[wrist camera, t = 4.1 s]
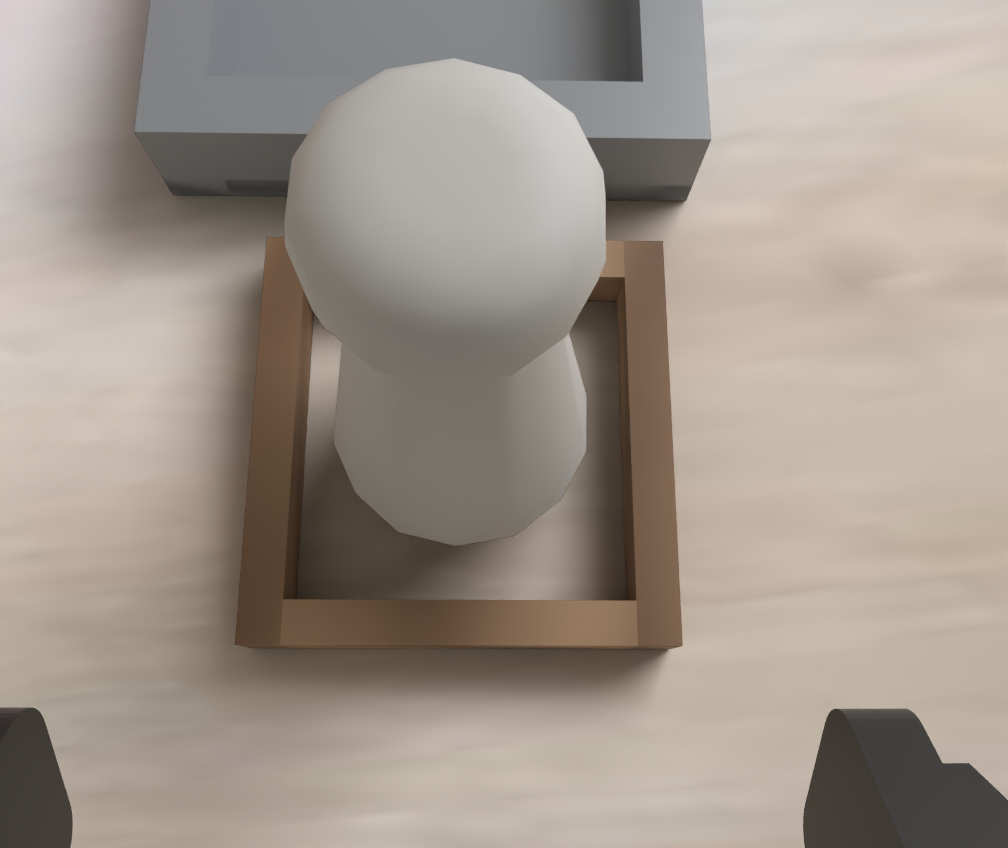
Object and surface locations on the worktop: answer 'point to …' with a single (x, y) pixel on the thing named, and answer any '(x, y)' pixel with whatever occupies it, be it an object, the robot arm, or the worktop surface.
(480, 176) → the salt shaker
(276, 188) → the tray
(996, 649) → the worktop surface
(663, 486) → the wooden square frame
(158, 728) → the worktop surface
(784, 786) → the worktop surface
